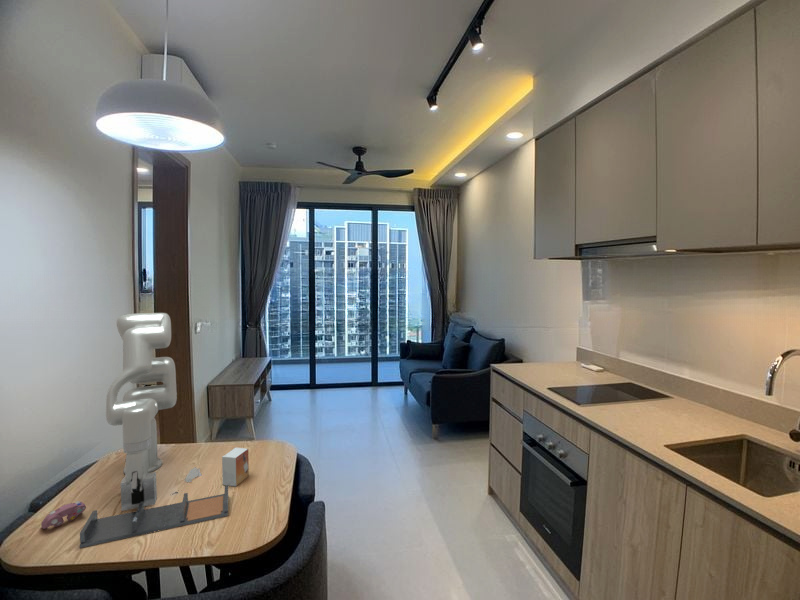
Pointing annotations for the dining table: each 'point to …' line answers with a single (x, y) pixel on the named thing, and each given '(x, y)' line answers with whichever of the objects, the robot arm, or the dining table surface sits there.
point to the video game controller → (63, 514)
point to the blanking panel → (147, 486)
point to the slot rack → (152, 519)
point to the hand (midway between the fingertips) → (139, 498)
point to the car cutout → (192, 475)
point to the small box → (235, 466)
